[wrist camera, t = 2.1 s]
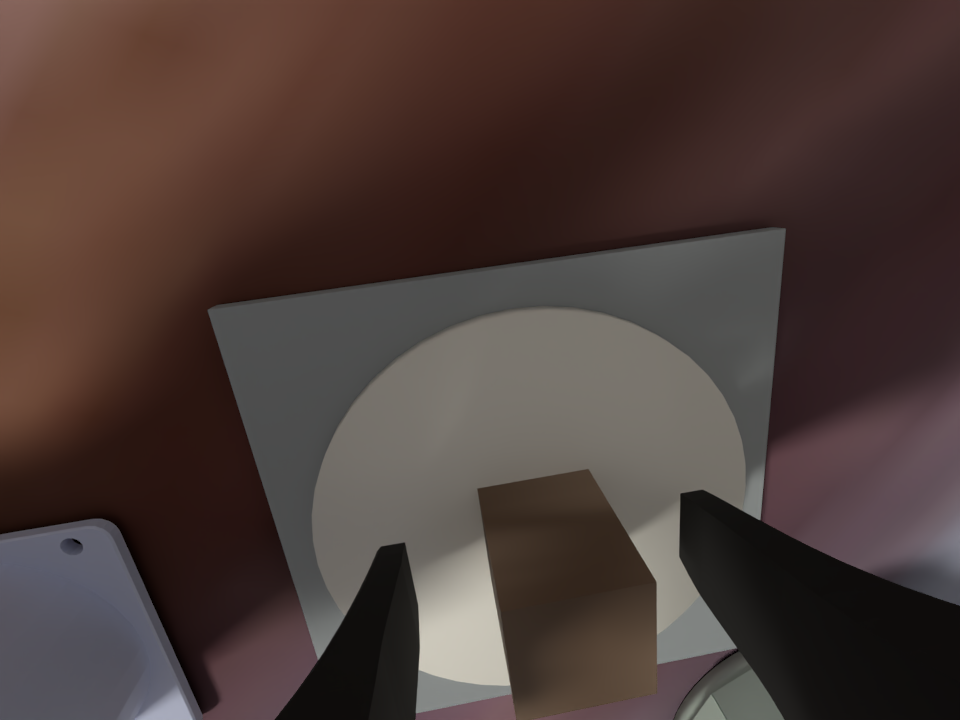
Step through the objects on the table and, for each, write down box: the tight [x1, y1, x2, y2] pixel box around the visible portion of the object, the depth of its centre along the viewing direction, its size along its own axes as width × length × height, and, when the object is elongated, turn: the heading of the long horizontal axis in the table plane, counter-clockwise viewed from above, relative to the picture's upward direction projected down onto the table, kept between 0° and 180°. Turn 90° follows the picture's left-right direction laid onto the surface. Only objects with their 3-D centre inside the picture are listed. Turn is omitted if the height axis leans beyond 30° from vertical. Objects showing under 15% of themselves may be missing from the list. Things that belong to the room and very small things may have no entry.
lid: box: [312, 306, 746, 720], centre depth 12 cm, size 12×12×5 cm
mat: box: [208, 227, 786, 713], centre depth 14 cm, size 14×14×1 cm
